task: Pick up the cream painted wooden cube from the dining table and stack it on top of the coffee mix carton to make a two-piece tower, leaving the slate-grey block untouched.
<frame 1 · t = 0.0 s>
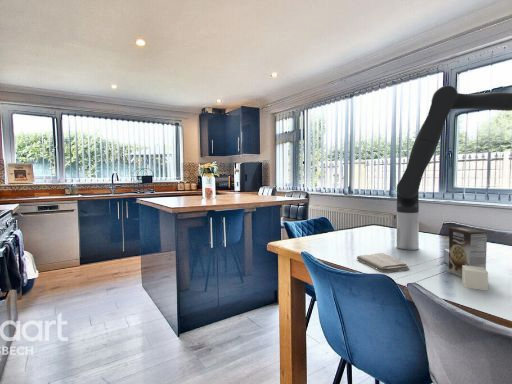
slate block: (453, 263, 111), on the table
coffee box: (466, 276, 98), on the table
cream cube: (474, 285, 89), on the table
washcloth: (381, 266, 112), on the table
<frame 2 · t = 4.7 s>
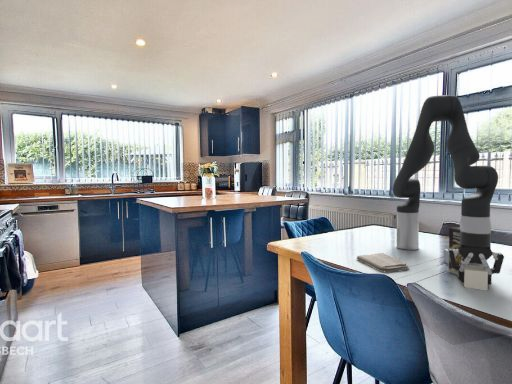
hand: (474, 283, 89), 1 cm above the table, tool pointing down, fingers closed on cream cube, 5 cm apart
cream cube: (474, 285, 89), on the table, touching gripper
everything else where it was.
when the fingers open (18 cm above the table, at t = 8.8 s): cream cube drops 1 cm, resting on coffee box.
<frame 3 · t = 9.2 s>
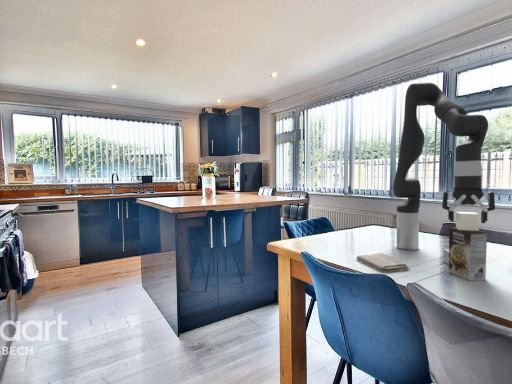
hand: (467, 222, 97), 18 cm above the table, tool pointing down, fingers open, 8 cm apart
coffee box: (466, 276, 98), on the table, touching cream cube
cream cube: (467, 229, 97), point 16 cm above the table, touching coffee box
everything else where it was.
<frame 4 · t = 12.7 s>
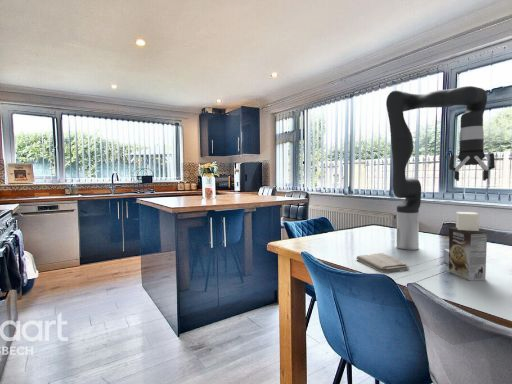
hand: (470, 180, 112), 32 cm above the table, tool pointing down, fingers open, 8 cm apart
nothing on the table moved.
at the end: cream cube 0.3 cm from the coffee box (horizontally); cream cube point 16.1 cm above the table; cream cube tilted 0° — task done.
